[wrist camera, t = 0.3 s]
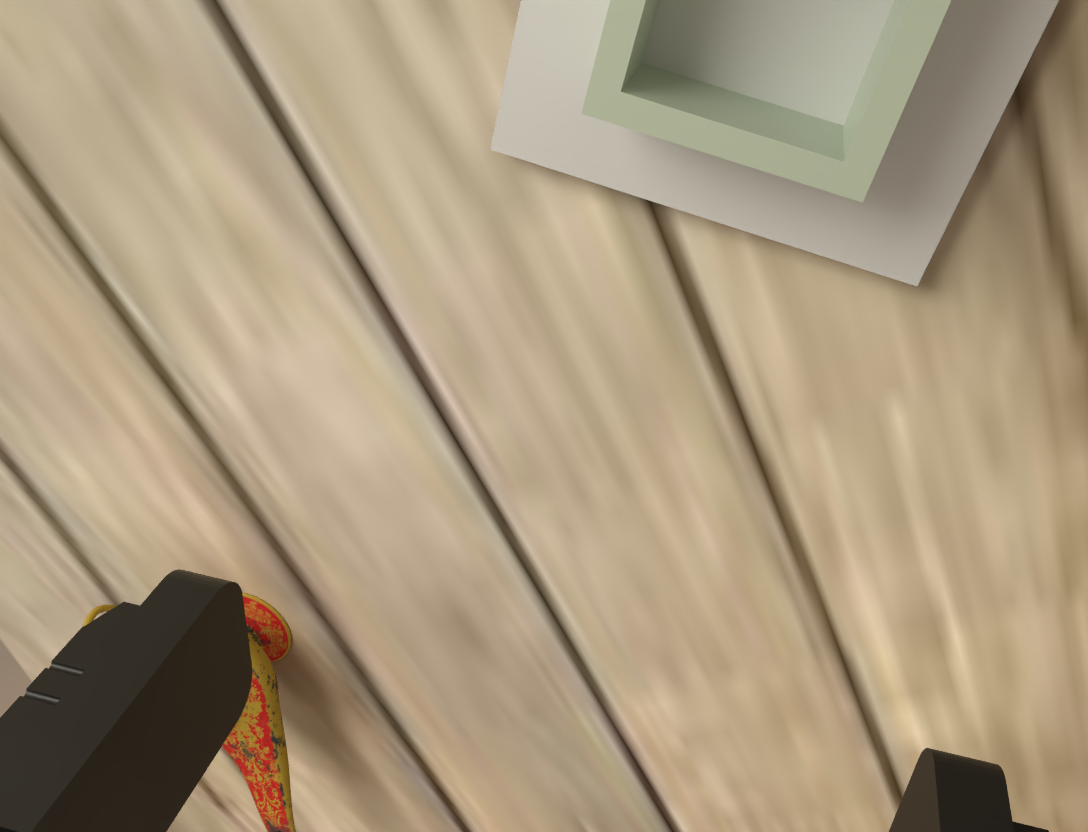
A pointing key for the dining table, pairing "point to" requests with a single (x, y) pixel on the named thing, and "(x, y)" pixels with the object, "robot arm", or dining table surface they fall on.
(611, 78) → the stand
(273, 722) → the magic lamp
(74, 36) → the dining table surface
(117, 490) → the dining table surface
